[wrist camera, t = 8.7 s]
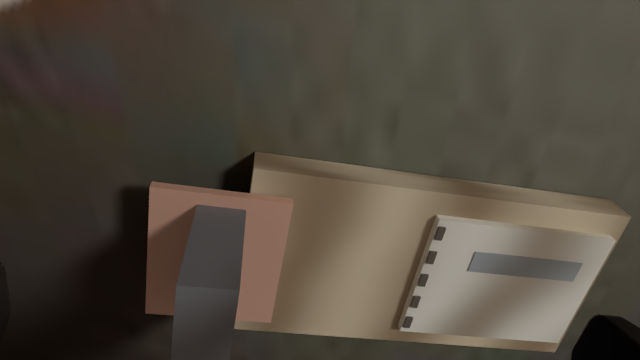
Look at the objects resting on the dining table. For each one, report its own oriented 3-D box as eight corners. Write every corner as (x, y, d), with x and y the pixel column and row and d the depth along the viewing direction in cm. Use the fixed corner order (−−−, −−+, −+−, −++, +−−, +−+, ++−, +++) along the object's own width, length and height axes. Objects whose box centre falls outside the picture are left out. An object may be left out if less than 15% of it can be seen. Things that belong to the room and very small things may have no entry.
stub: (147, 306, 20) (114, 410, 16) (151, 181, 17) (113, 265, 13) (270, 316, 21) (271, 416, 17) (293, 198, 18) (300, 282, 14)
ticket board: (233, 305, 23) (230, 337, 21) (255, 151, 19) (253, 174, 17) (539, 329, 25) (560, 360, 24) (609, 199, 22) (639, 223, 20)
